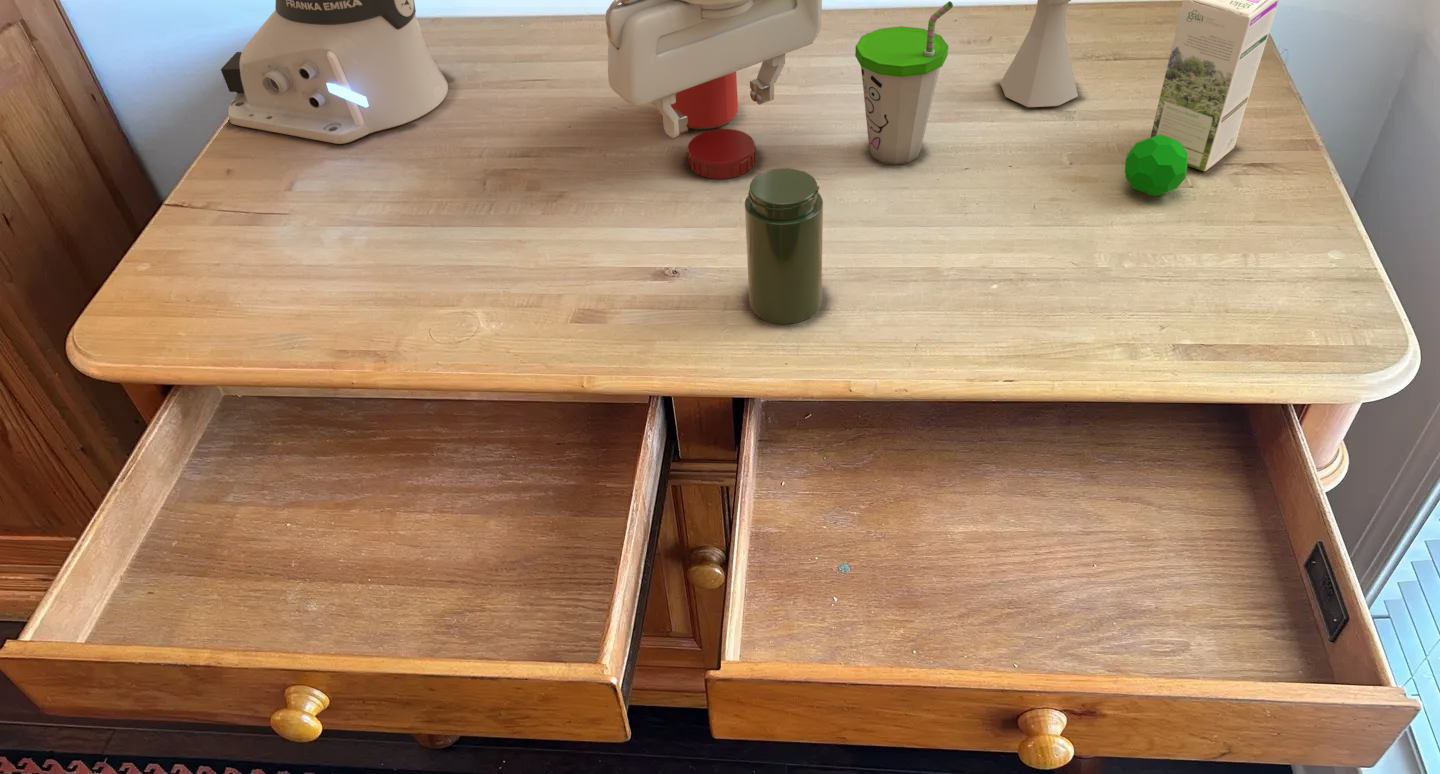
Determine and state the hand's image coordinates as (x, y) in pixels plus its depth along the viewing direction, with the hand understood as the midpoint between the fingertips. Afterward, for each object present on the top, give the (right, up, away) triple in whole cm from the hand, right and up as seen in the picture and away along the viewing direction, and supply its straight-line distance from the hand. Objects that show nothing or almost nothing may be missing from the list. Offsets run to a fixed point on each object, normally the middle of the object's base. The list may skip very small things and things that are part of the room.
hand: (719, 116), depth 95 cm
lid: (0, -3, +2) cm, 3 cm away
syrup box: (+42, -3, 0) cm, 42 cm away
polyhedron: (+37, -8, -5) cm, 38 cm away
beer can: (-1, +2, +9) cm, 10 cm away
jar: (+5, -18, -13) cm, 23 cm away
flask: (+31, +5, +9) cm, 33 cm away
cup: (+16, -3, +2) cm, 17 cm away
